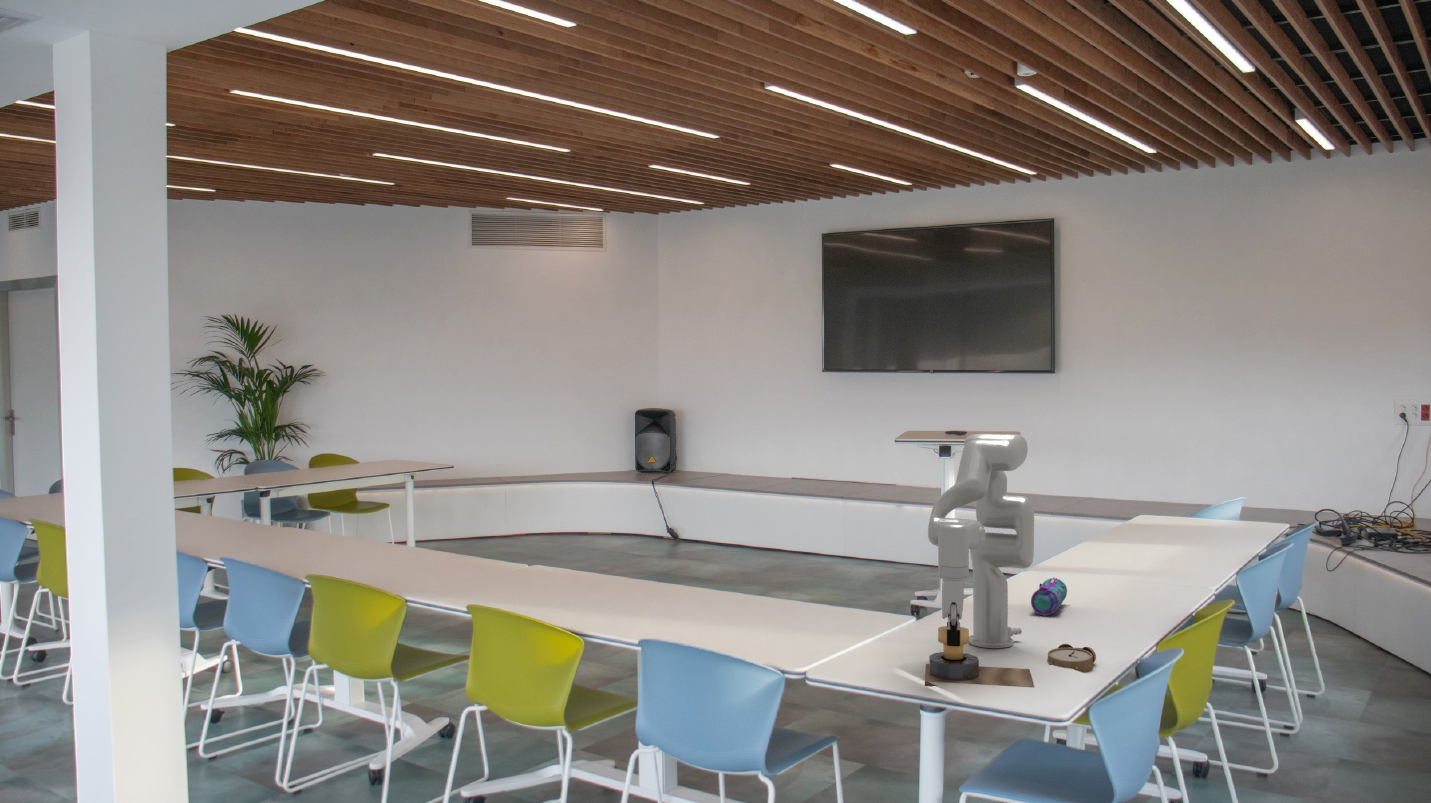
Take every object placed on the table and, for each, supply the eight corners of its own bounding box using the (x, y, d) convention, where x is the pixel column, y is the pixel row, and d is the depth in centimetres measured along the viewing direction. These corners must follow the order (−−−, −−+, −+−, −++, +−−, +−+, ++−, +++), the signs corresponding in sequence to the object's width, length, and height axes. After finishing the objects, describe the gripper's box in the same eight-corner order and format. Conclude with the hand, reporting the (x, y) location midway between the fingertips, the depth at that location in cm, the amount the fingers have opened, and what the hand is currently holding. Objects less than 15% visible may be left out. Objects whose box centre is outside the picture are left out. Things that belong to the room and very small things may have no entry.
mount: (1029, 673, 267) (1029, 668, 267) (1034, 692, 251) (1034, 687, 251) (926, 668, 273) (926, 663, 273) (924, 685, 257) (924, 681, 257)
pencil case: (1039, 603, 350) (1039, 574, 350) (1067, 605, 346) (1067, 576, 346) (1030, 616, 331) (1030, 586, 331) (1059, 618, 327) (1059, 588, 327)
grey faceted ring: (959, 664, 271) (959, 649, 271) (988, 677, 260) (988, 661, 260) (920, 670, 267) (920, 654, 266) (947, 682, 255) (947, 666, 255)
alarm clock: (1041, 657, 272) (1059, 636, 284) (1042, 675, 273) (1060, 653, 284) (1084, 664, 265) (1102, 642, 277) (1085, 682, 266) (1103, 659, 278)
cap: (957, 651, 268) (957, 624, 268) (975, 659, 261) (975, 631, 261) (932, 654, 265) (932, 627, 265) (949, 662, 258) (949, 634, 258)
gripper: (938, 565, 272) (938, 633, 272) (937, 577, 255) (937, 649, 255) (968, 566, 270) (968, 634, 271) (969, 578, 253) (969, 651, 254)
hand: (953, 641), depth 263 cm, fingers closed on cap, 7 cm apart
